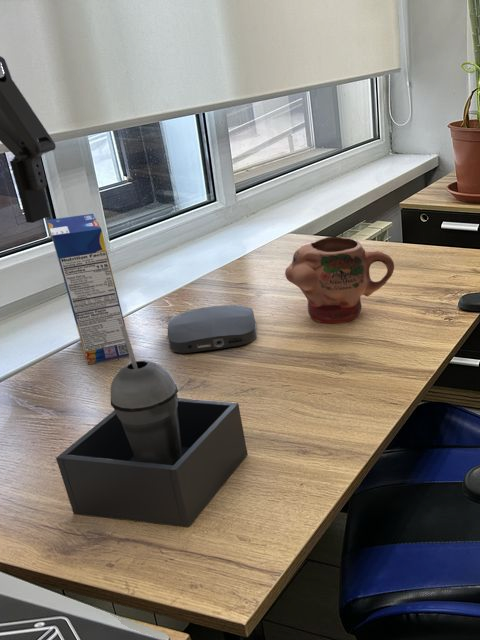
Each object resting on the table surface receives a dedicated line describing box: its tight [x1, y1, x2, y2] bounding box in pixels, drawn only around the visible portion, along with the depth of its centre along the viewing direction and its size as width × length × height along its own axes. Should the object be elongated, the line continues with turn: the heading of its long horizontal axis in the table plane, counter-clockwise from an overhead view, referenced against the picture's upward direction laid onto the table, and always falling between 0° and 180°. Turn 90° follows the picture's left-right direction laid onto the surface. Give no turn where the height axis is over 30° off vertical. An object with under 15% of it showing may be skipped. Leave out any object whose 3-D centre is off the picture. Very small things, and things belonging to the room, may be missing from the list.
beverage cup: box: [110, 324, 183, 465], centre depth 82 cm, size 7×7×20 cm
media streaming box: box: [167, 304, 257, 354], centre depth 126 cm, size 15×15×3 cm
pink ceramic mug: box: [284, 235, 395, 324], centre depth 132 cm, size 20×12×14 cm, turn 103°
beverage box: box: [46, 213, 130, 365], centre depth 118 cm, size 7×11×22 cm, turn 32°
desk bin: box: [55, 397, 248, 528], centre depth 85 cm, size 15×15×8 cm
